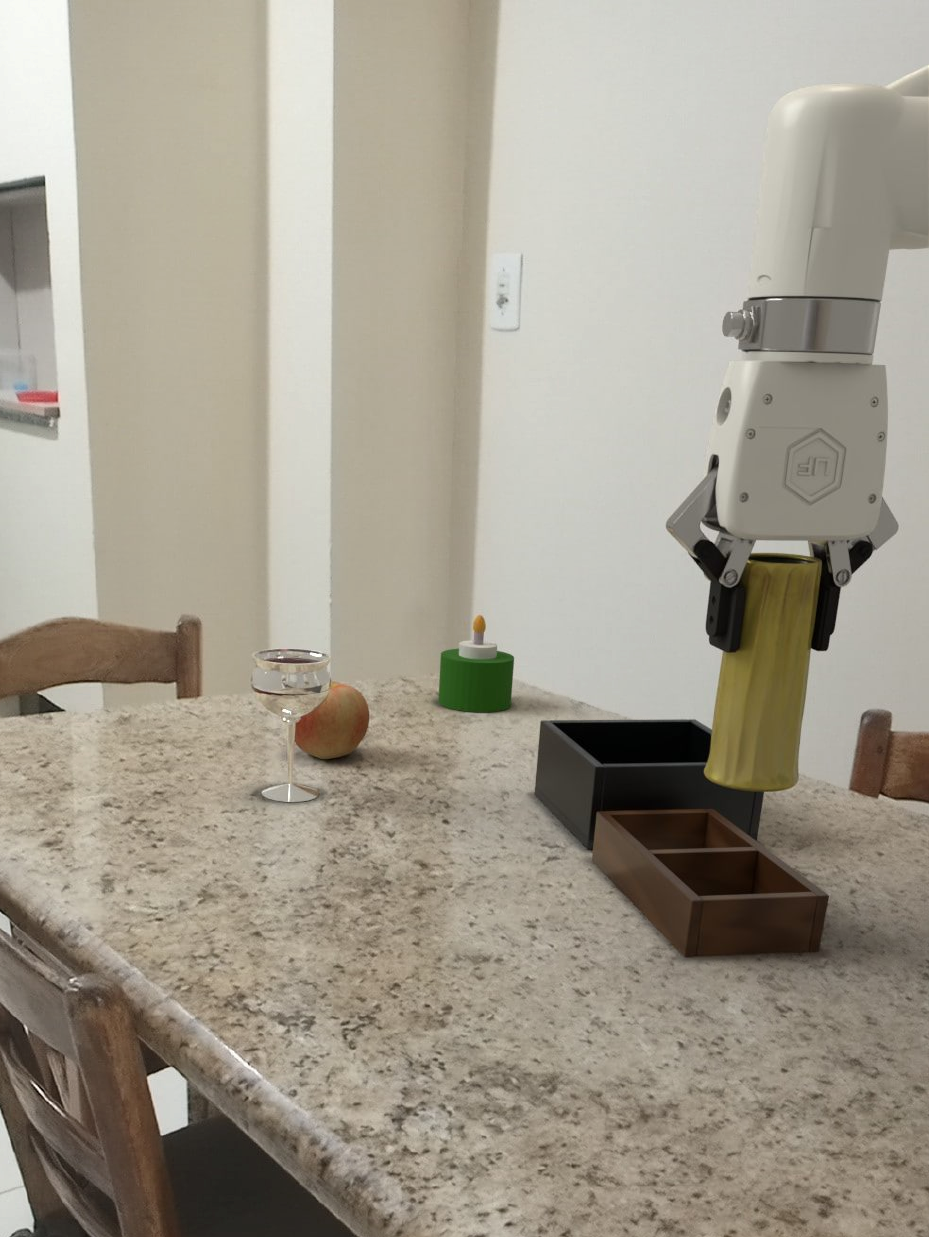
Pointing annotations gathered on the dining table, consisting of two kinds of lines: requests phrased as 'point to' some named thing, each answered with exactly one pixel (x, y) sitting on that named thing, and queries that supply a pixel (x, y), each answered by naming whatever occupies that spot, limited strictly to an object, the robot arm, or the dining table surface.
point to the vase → (766, 677)
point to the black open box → (632, 772)
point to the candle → (476, 675)
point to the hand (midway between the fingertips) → (767, 644)
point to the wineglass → (291, 700)
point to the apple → (334, 724)
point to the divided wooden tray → (708, 883)
